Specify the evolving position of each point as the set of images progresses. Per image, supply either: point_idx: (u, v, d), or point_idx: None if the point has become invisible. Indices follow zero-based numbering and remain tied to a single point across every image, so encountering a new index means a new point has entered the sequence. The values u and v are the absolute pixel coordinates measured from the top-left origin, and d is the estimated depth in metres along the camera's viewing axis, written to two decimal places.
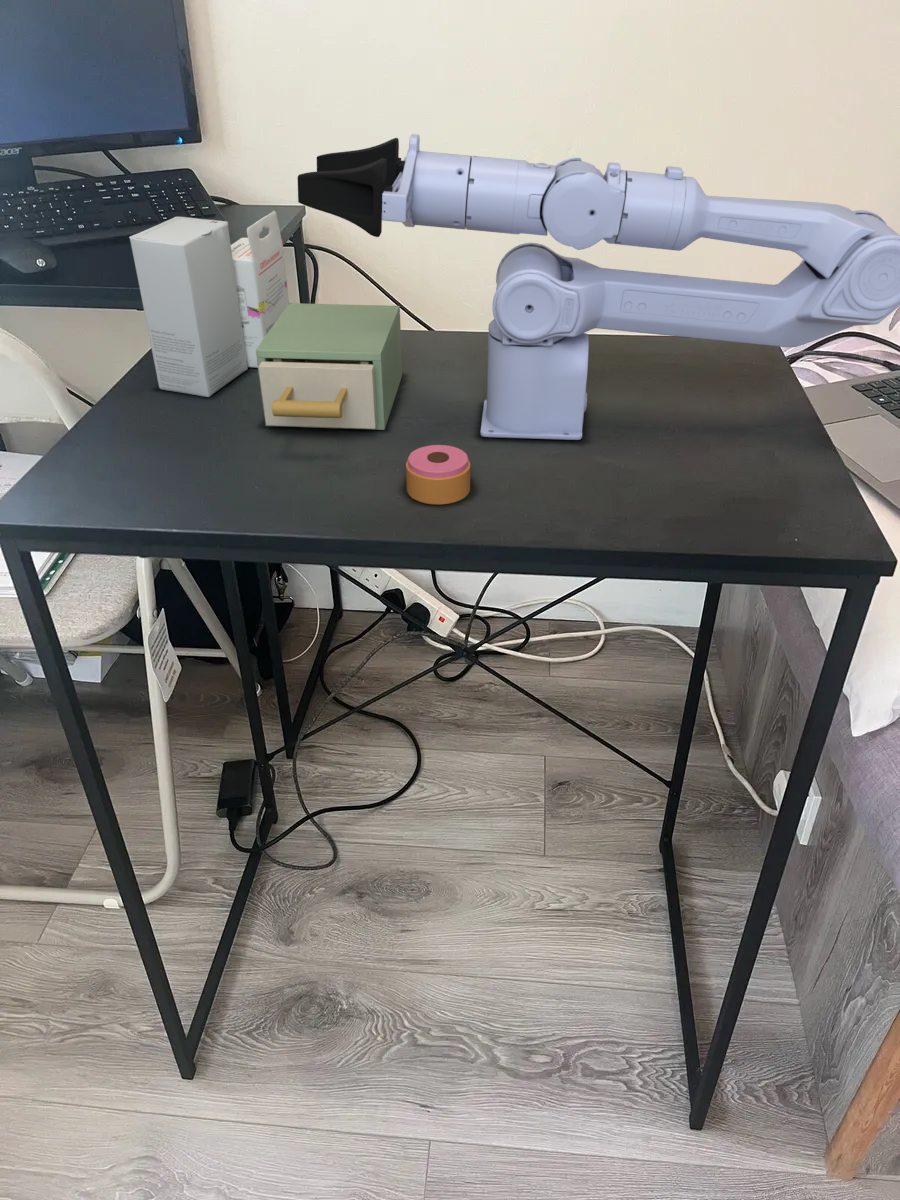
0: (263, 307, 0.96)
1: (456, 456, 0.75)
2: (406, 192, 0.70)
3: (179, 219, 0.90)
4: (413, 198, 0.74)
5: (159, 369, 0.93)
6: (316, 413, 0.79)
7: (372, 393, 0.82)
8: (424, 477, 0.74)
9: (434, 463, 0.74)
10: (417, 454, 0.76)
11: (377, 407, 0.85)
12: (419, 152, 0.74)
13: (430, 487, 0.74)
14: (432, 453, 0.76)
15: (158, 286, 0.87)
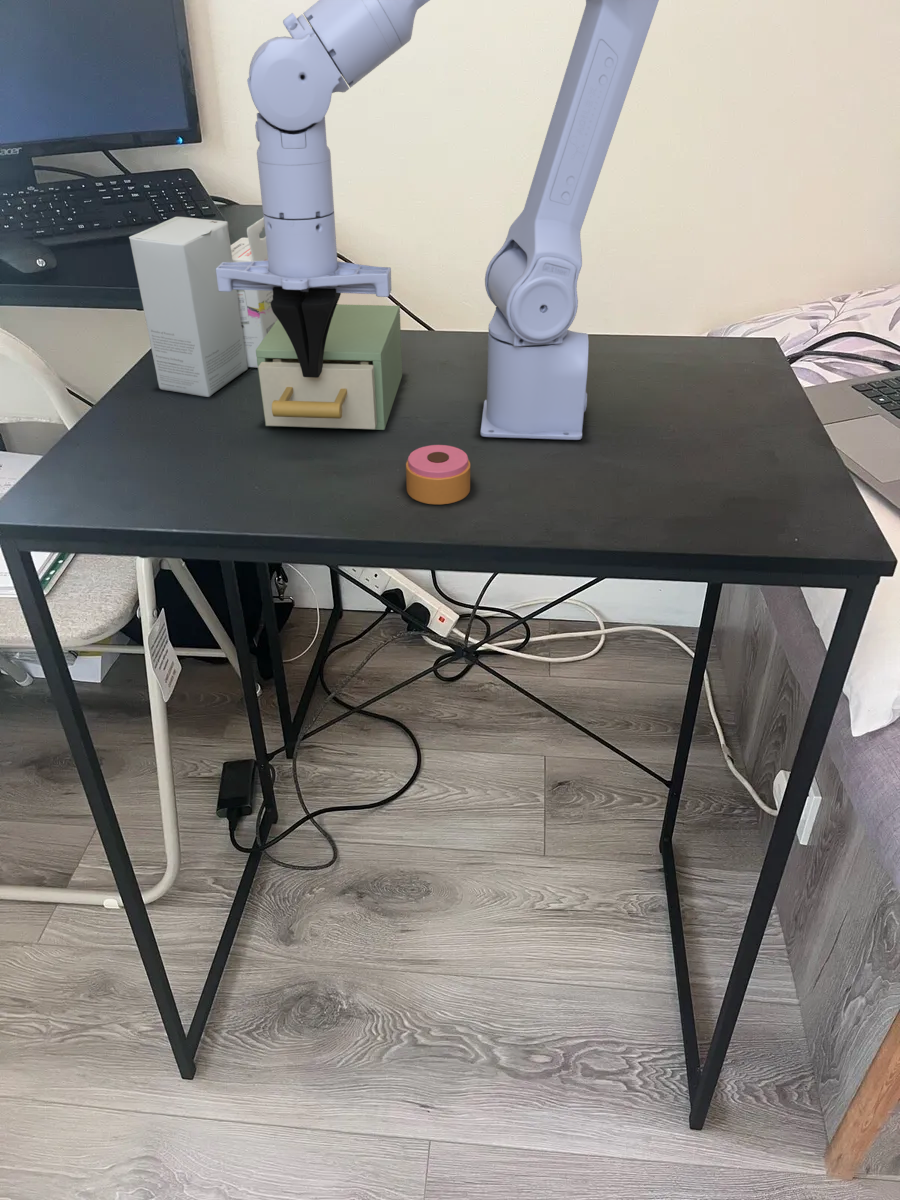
0: (263, 307, 0.96)
1: (456, 456, 0.75)
2: (377, 275, 0.75)
3: (179, 219, 0.90)
4: (337, 267, 0.76)
5: (158, 369, 0.93)
6: (316, 414, 0.79)
7: (372, 393, 0.82)
8: (424, 477, 0.74)
9: (434, 463, 0.74)
10: (417, 454, 0.76)
11: (377, 407, 0.85)
12: (299, 275, 0.73)
13: (430, 487, 0.74)
14: (432, 453, 0.76)
15: (157, 286, 0.87)
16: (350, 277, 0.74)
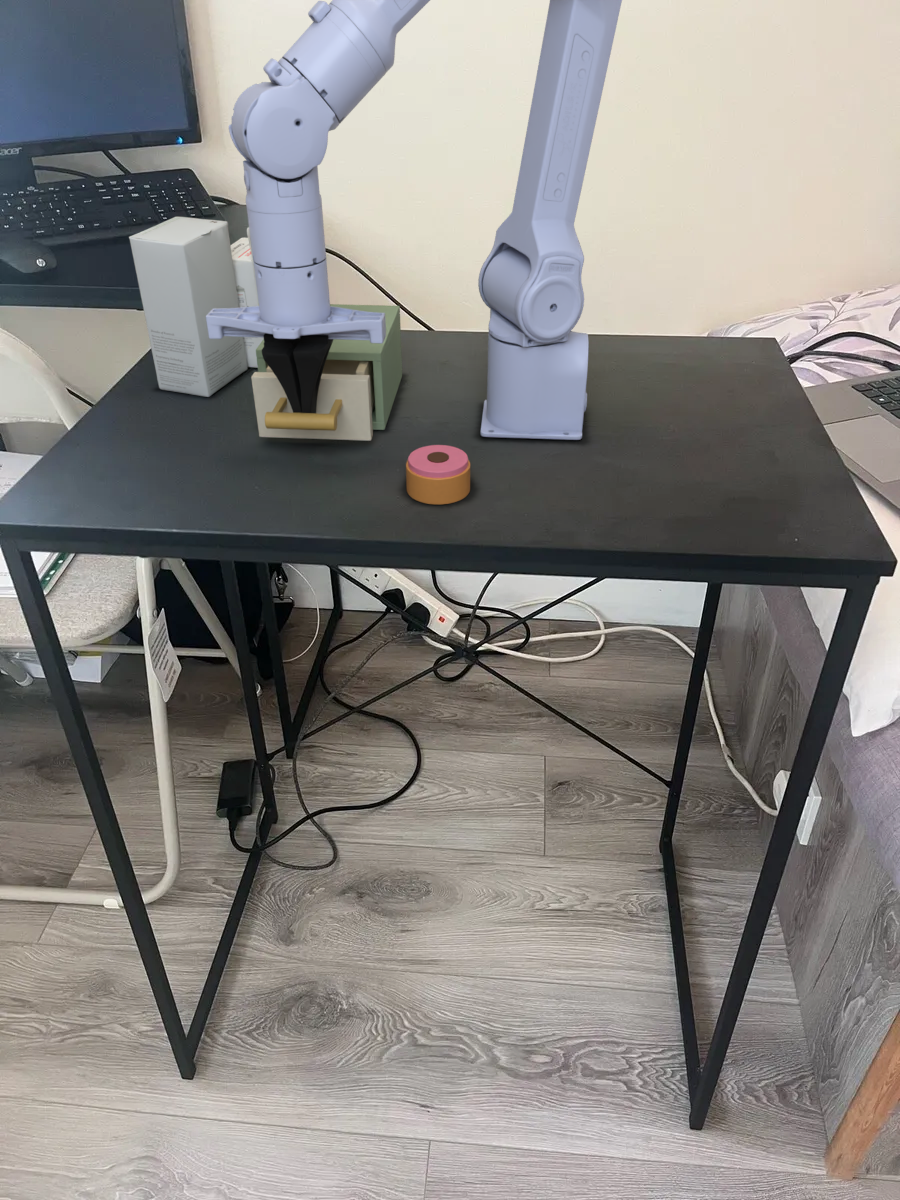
0: None
1: (456, 456, 0.75)
2: (371, 322, 0.73)
3: (179, 219, 0.90)
4: (330, 313, 0.74)
5: (158, 369, 0.93)
6: (310, 426, 0.77)
7: (368, 404, 0.80)
8: (424, 477, 0.74)
9: (434, 463, 0.74)
10: (417, 454, 0.76)
11: (377, 407, 0.85)
12: (290, 324, 0.71)
13: (430, 487, 0.74)
14: (432, 453, 0.76)
15: (157, 286, 0.87)
16: (343, 324, 0.72)
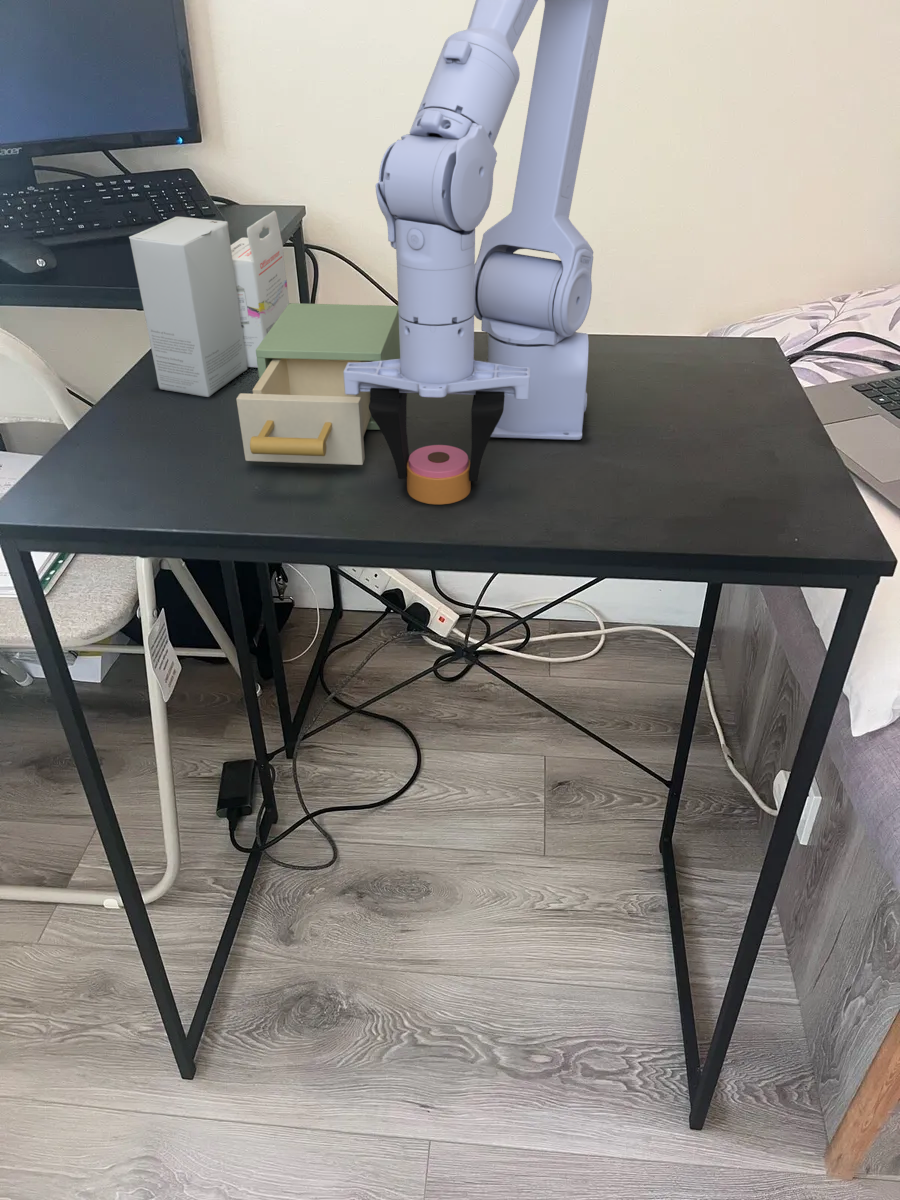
0: (263, 307, 0.96)
1: (456, 456, 0.75)
2: (518, 378, 0.69)
3: (179, 219, 0.90)
4: (473, 368, 0.71)
5: (158, 369, 0.93)
6: (298, 451, 0.73)
7: (359, 427, 0.77)
8: (425, 477, 0.74)
9: (434, 463, 0.74)
10: (417, 454, 0.76)
11: None
12: (437, 381, 0.68)
13: (431, 487, 0.74)
14: (432, 453, 0.76)
15: (157, 286, 0.87)
16: (490, 381, 0.69)
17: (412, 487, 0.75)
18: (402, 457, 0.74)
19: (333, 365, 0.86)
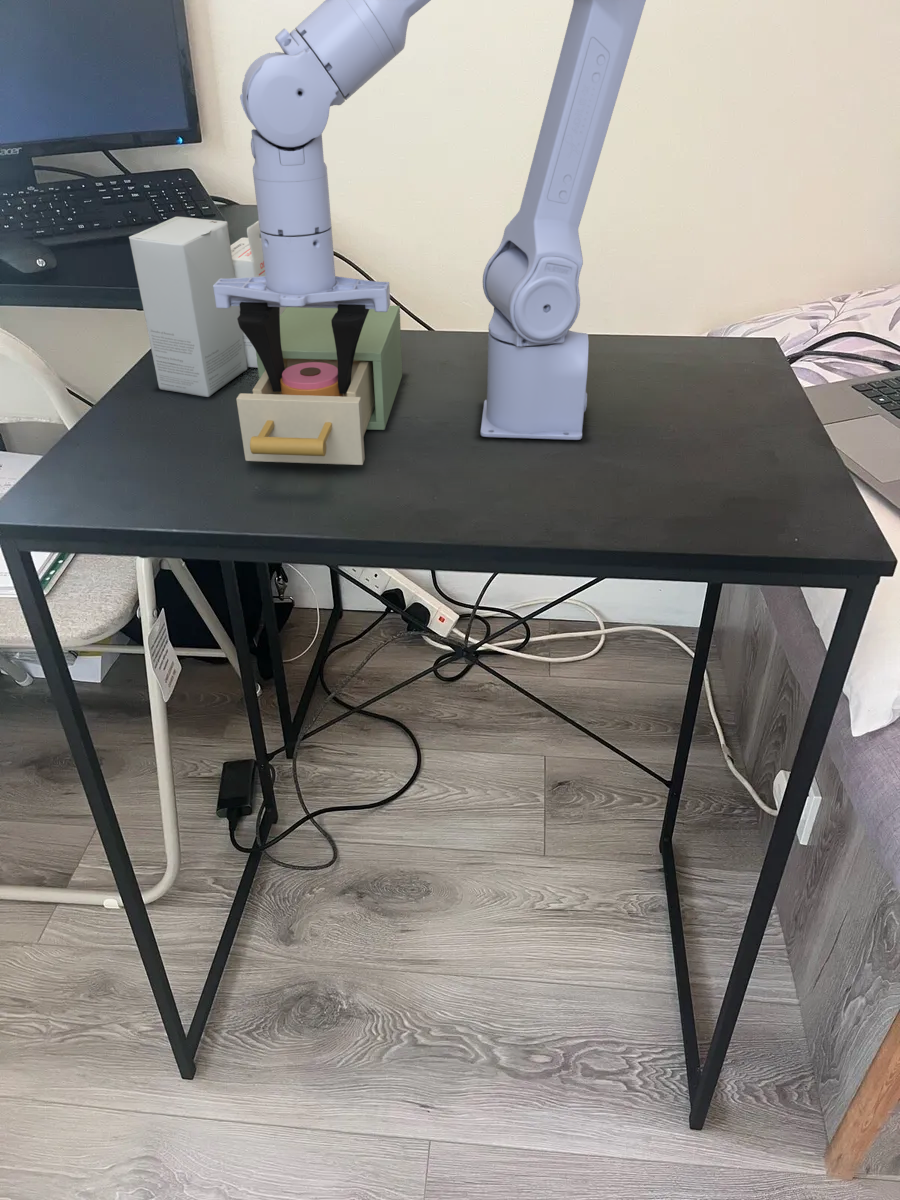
0: None
1: (328, 371, 0.80)
2: (375, 290, 0.74)
3: (178, 219, 0.90)
4: (335, 282, 0.75)
5: (158, 369, 0.93)
6: (298, 451, 0.73)
7: (359, 427, 0.77)
8: (295, 389, 0.78)
9: (305, 376, 0.79)
10: (291, 369, 0.80)
11: (377, 407, 0.85)
12: (296, 292, 0.73)
13: None
14: (305, 368, 0.80)
15: (157, 286, 0.87)
16: (348, 293, 0.74)
17: None
18: (274, 370, 0.78)
19: (333, 365, 0.86)
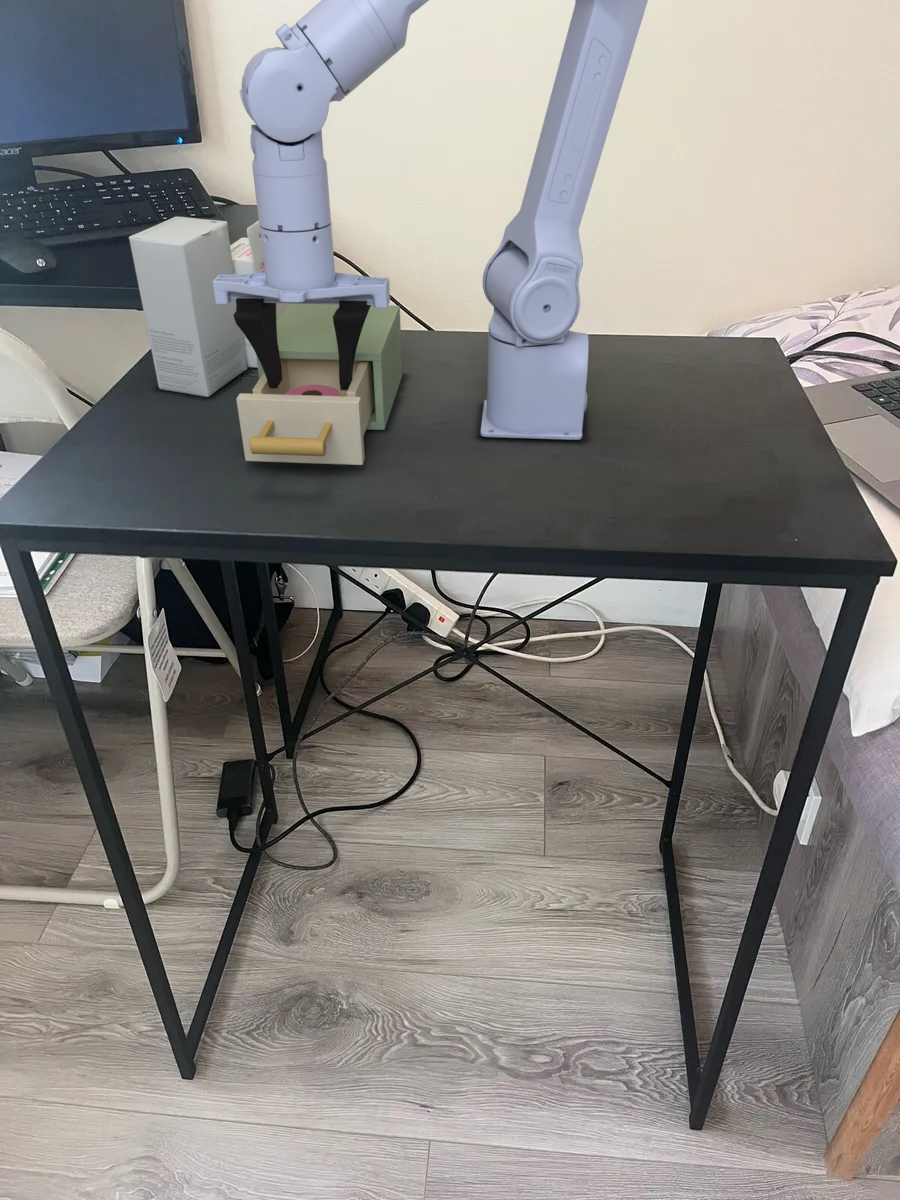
0: None
1: (329, 394, 0.81)
2: (375, 286, 0.74)
3: (178, 219, 0.90)
4: (335, 278, 0.75)
5: (158, 369, 0.93)
6: (298, 451, 0.73)
7: (359, 427, 0.77)
8: None
9: None
10: (293, 392, 0.81)
11: (377, 407, 0.85)
12: (296, 288, 0.73)
13: None
14: (307, 391, 0.81)
15: (157, 286, 0.87)
16: (348, 289, 0.73)
17: None
18: (270, 366, 0.78)
19: (333, 365, 0.86)
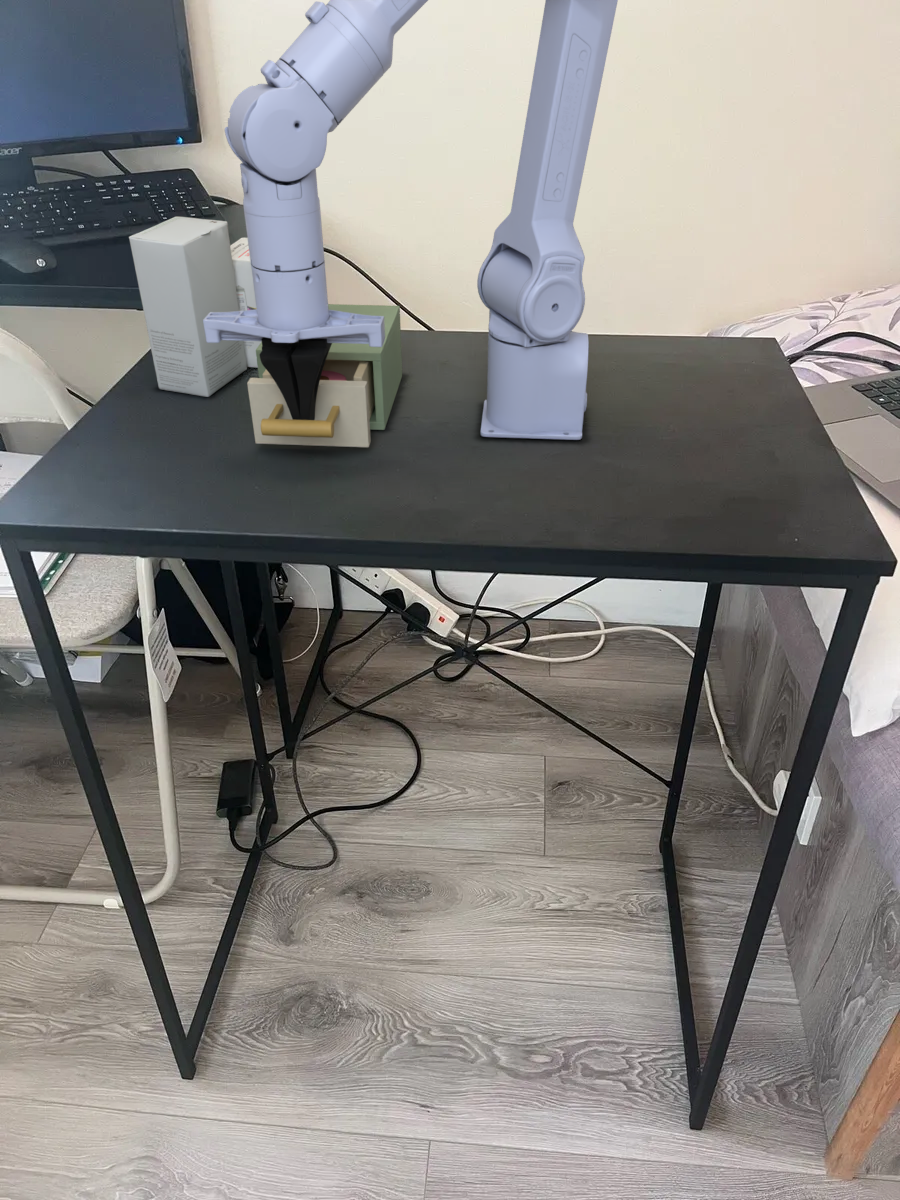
0: None
1: (336, 379, 0.84)
2: (370, 325, 0.72)
3: (178, 219, 0.90)
4: (328, 317, 0.73)
5: (158, 369, 0.93)
6: (307, 433, 0.76)
7: (365, 411, 0.79)
8: None
9: None
10: None
11: (377, 407, 0.85)
12: (289, 327, 0.71)
13: None
14: None
15: (157, 286, 0.87)
16: (342, 328, 0.72)
17: None
18: (296, 406, 0.76)
19: None
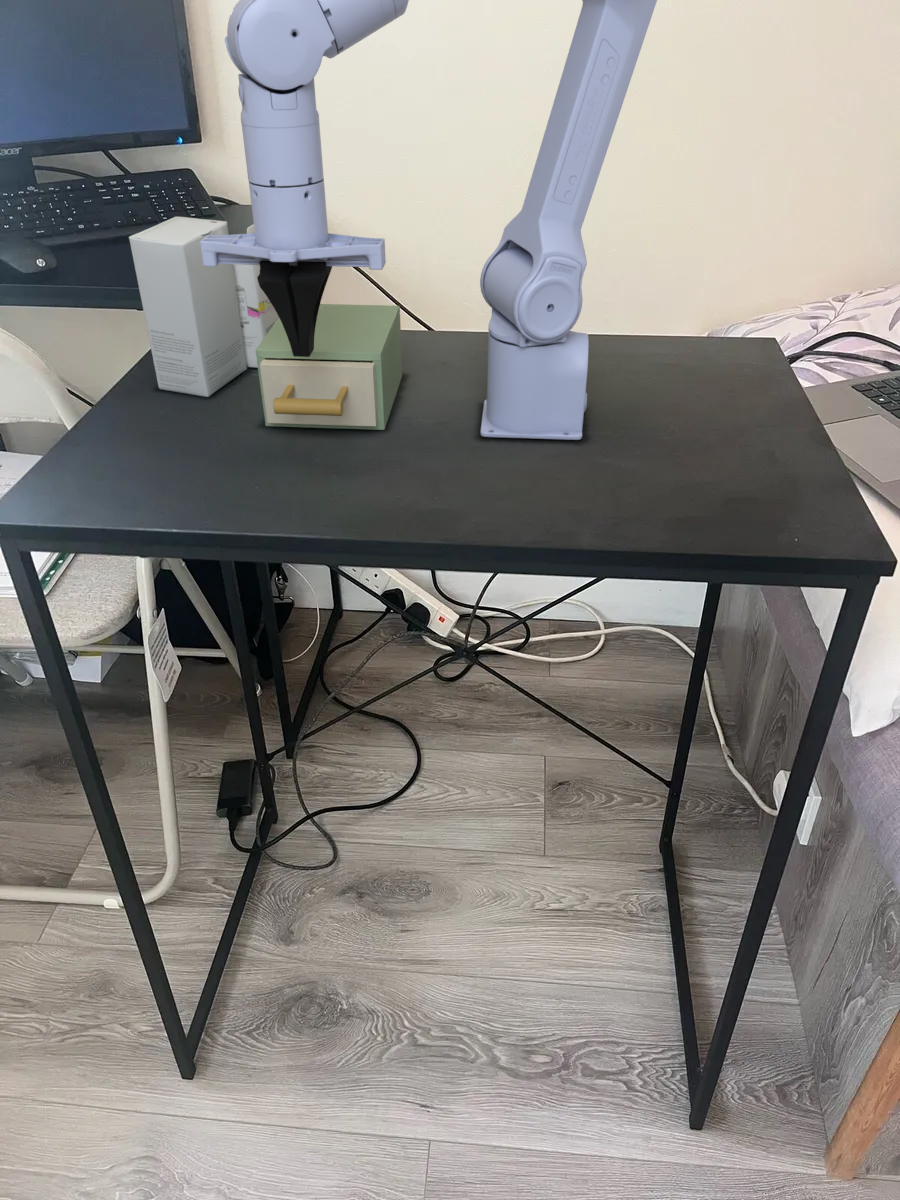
0: (263, 307, 0.96)
1: (344, 361, 0.87)
2: (370, 246, 0.70)
3: (178, 219, 0.90)
4: (328, 239, 0.72)
5: (158, 369, 0.93)
6: (317, 411, 0.79)
7: (373, 391, 0.83)
8: None
9: None
10: (311, 360, 0.88)
11: (377, 407, 0.85)
12: (287, 247, 0.69)
13: None
14: None
15: (157, 286, 0.87)
16: (341, 249, 0.70)
17: None
18: (295, 333, 0.75)
19: None
